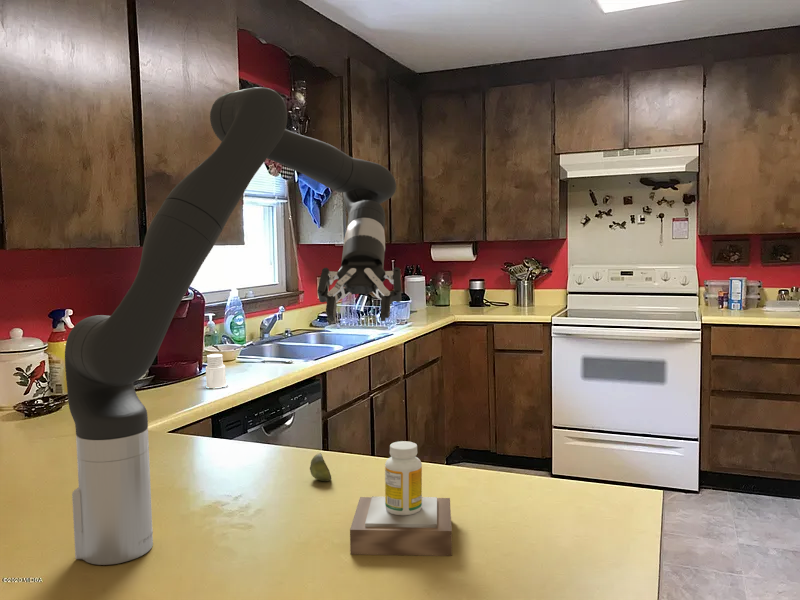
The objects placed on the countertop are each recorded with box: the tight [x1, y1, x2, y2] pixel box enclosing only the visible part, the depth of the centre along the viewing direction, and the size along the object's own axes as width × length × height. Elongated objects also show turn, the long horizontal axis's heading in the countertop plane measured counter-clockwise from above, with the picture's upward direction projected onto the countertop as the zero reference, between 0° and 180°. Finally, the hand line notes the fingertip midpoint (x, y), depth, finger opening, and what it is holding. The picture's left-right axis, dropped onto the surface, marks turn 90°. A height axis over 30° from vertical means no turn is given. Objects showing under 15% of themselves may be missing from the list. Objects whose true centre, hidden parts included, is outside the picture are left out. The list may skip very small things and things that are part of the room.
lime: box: [309, 452, 332, 482], centre depth 121 cm, size 4×5×5 cm
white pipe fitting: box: [205, 353, 227, 388], centre depth 204 cm, size 8×7×10 cm
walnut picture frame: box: [349, 496, 453, 557], centre depth 97 cm, size 14×12×4 cm
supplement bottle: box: [384, 440, 423, 516], centre depth 97 cm, size 5×5×10 cm
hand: (357, 318), depth 110 cm, fingers open, 8 cm apart
